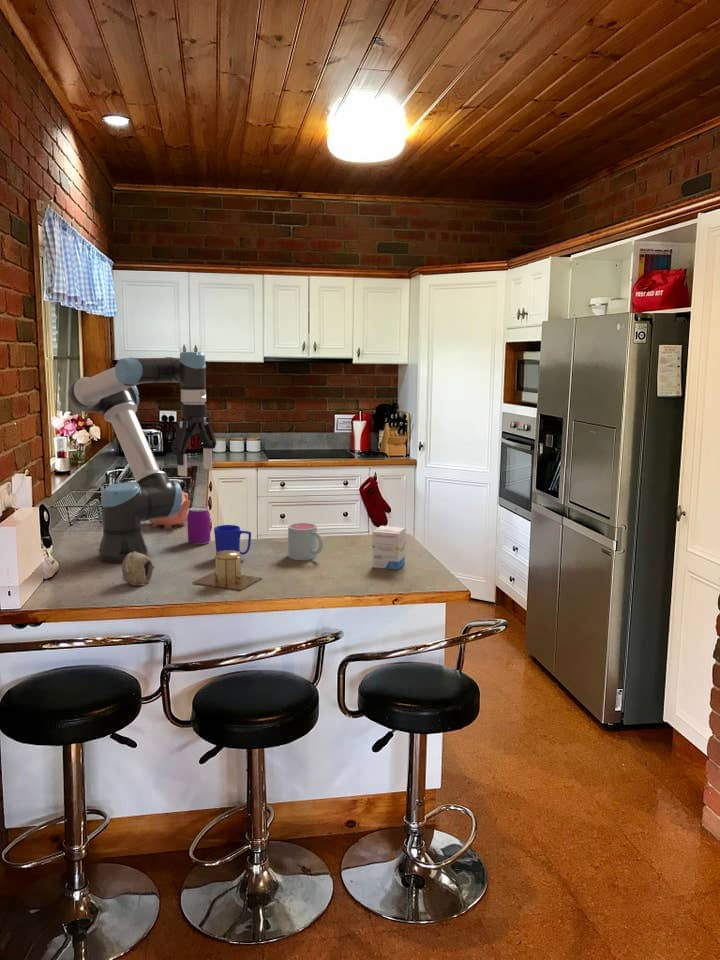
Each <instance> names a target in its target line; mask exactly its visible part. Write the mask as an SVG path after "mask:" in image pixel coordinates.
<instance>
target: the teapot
mask: <svg viewBox="0 0 720 960" xmlns="http://www.w3.org/2000/svg"><path fill="white" fill-rule="evenodd" d="M182 494H183V500H182V506H181V508H180V510H179V512H178V513H177V514H175V515H173V516H169V517H166V518H159V519H153V520H148V521H149V522H150V523H151V524H152V525H151V527H154V528H156V527H157V528H158V527H160V525H161V526H162V525H163V526H164V529H165V530H172V529H173V526H174V525H177V526H179V527H181V526H185V525H186V524H185V523H186V522H187V515H188V512H189V509H190V505H191V502H192V501H191V500H189V499H188V498H189V494H188V493H187V492H182Z"/></svg>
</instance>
